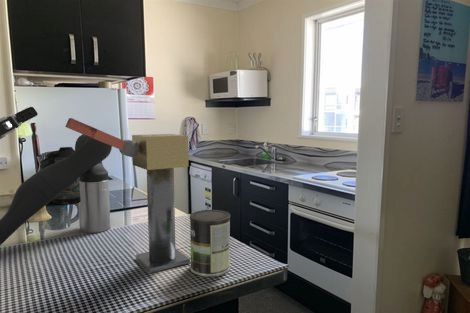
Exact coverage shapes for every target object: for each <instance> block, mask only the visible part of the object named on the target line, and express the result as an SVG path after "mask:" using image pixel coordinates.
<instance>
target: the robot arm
mask: <svg viewBox="0 0 470 313" xmlns="http://www.w3.org/2000/svg"><path fill="white" fill-rule="evenodd" d="M35 117H38V112H37V110H36V109H35V108H34V106H28V107H26V108H24V109H22V110H21V111H18V112H16V113H15V114H10V115H9V116H2V117H1V118H0V140H2V139H3V138H5V137H6V136H7V135H9V134H11V133H13V132H15V129H18V128H19V127H20V126H21V125H23V124H24V123H26V122H28V121H30V120H31V119H33V118H35ZM112 148H113V146H110V145H108V144H106V143H103V142H101V141H98V140H96V139H93V138H91V137H89V136H86V135H84V134H81V135H79V136H78V138H77V139H76V141H75V144H74V150H75V152H74V153H73V154H71V155H70V156H69V157H67V158H65V159H63V160H61V161H59V162H56V163H51V164H50V165H48V166H46V167H45V168H44V169H42V170H40V169H39V171H37V172H36V173H34V174H33V175H31V176H30V177H28V178H27V179H26V180H25V181H23V182H22V183H21V184H20V185H19V186H18V188H17V189H16V191H15V193H14V196H13V198H12V201H11V204H10V205H9V208H8V210H7V211H6V213H5V214H4V215H3V217H2V218H0V246H2V244H4V243H5V241H7V239H9V238H10V237H11V236H12V235H13V234H14V233H15V232H16V231H17V230H19V229H20V227H21V226H22V225H24V223H25V222H28V221H27V220H28V219H29V218H30V217H32V216H33V215H34V214H35V213H36V212H38V211H39V210H40V209H41V208H43V207H44V206H46V205H48V204H49V203H51V201H52V202H53V199H54V198H55V197H56V196H58V195H59V194H60V193H61V192H62V191H63V190H64V189H66V188H67V187H68V186H69V185H71V184H72V183H73V182H74V181H75V180H76V179H78V178H79V179H80V198H81V202H79V203H77V204H78V207H77V208H78V220H79V221H78V223H79V225H78V226H79V231H82V232H84V233H88V234H89V233H94V234H95V233H101V232H105V231H108V230H109V229H110V228H111V208H110V184H109V183H110V182H109V172H108V170H107V169H106V168H105V167H104V165H103V161H104V160H106V159H107V158H108V157H109V155H110V154H111V152H112Z"/></svg>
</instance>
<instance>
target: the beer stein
mask: <svg viewBox="0 0 470 313" xmlns="http://www.w3.org/2000/svg"><path fill="white" fill-rule="evenodd" d="M74 152H75V149H74V148H73V147H72V146H66V147H65V146H61V147H59V149H58V150H54V151H50V152H49V153H48V155H47V157H45V158H44V159H41V161H40V163H39V171H40V170H42V169H44V168H45V167H47V165H48V164H54V163H56V162H59V161H61V160H63V159H65V158H67V157H69V156H70V155H71V154H73V153H74ZM79 202H81V198H80V179H79V178H78V179H76V180H75V181H74V182H73V183H72V184H71V185H69V186H68V187H67V188H66V189H64V190H63V191H62V192H61V193H60V194H59V195H58V196H56V197H55V198H54V199H53V200H52V203H53V204H55V205H74V203H75V204H78V203H79Z"/></svg>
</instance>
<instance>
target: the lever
mask: <svg viewBox="0 0 470 313" xmlns="http://www.w3.org/2000/svg"><path fill="white" fill-rule="evenodd" d="M65 128H67V129H70V130H72V131H74V132H77V133H79V134H81V135H82V134H84V135H86V136H89V137H91V138H93V139H96V140H98V141H101V142H103V143H106V144H108V145H110V146H112V148H116V149H118V150H119V152H120V154H121V155H123V156H124V157H125V156H126V157H130V158H133V157H134V156H136V155H137V154H138V153H139V151H140V146H139V144H138V143H137V142H135V141H132V139H124V140H123V139H121V138H118V137H116V136H114V135H112V134H110V133H107V132H105V131H102V130H100V129H98V128H95V127H93V126H91V125H89V124H86V123H84V122H81V121H79V120H77V119H75V118H72V117H69V118H68V120H67V121H66V125H65Z"/></svg>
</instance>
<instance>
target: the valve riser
mask: <svg viewBox="0 0 470 313" xmlns="http://www.w3.org/2000/svg"><path fill="white" fill-rule="evenodd" d="M131 140H132V141H135V142H137V143H138V144H139V146H140V151H139V153H138V154H137V155H136V156H134V157H132V166H135V167H138V168H140V169H143V170H146V190H147V192H146V194H147V224H148V227H147V228H148V230H147V231H148V232H147V233H148V251H147V252H142V253H136V254H135V259H136V260H137V261H138V262H139V263H140V264H141V266H142V267H143V268H144V269H145V270H146V271H147V272H148V273H149V274H154V273H156V272H161V271H165V270H170V269H174V268H178V267H181V266H185V265H188V264H191V258H189V256H187V255H186V254H184V253H183V252H182V251H180V250H179V249H177V248H176V211H175V210H176V208H175V207H176V203H175V202H176V201H175V168H176V169H177V168H185V167H186V168H188V167H190V166H189V135H188V134H178V133H177V134H176V133H161V134H160V133H159V134H158V133H157V134H154V133H153V134H131Z"/></svg>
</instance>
